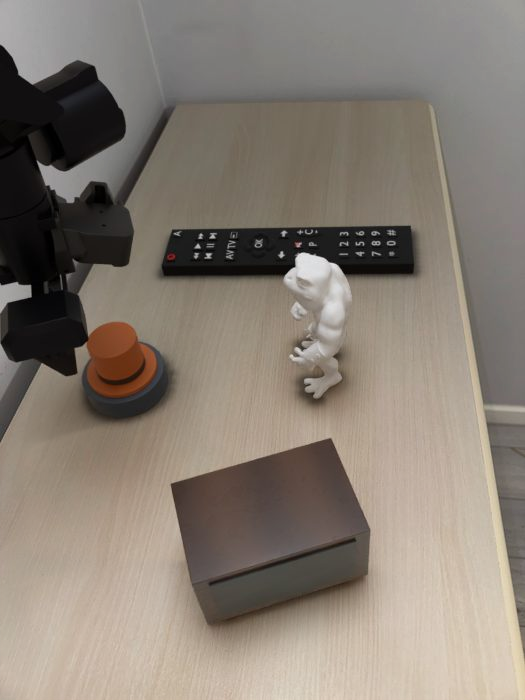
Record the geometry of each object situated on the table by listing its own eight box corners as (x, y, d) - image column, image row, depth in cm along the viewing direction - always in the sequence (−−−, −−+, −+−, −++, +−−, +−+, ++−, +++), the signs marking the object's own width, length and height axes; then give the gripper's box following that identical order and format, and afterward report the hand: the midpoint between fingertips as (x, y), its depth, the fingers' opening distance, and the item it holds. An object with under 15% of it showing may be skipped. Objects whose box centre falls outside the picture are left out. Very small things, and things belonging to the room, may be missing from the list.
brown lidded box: (210, 632, 56) (191, 587, 49) (188, 534, 62) (170, 483, 56) (368, 582, 58) (371, 532, 51) (332, 492, 64) (331, 437, 57)
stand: (92, 427, 72) (85, 412, 70) (84, 367, 78) (78, 352, 76) (174, 404, 73) (170, 390, 71) (160, 347, 79) (156, 332, 77)
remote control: (172, 238, 92) (169, 226, 91) (409, 234, 88) (410, 222, 87) (161, 275, 87) (158, 263, 86) (413, 273, 83) (414, 261, 82)
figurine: (356, 405, 70) (358, 301, 59) (293, 409, 71) (282, 306, 60) (347, 331, 78) (347, 225, 67) (290, 334, 78) (280, 230, 67)
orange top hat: (91, 406, 70) (77, 375, 67) (85, 355, 75) (71, 323, 72) (163, 387, 71) (153, 355, 68) (151, 337, 76) (141, 306, 73)
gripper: (129, 244, 47) (169, 389, 58) (101, 121, 59) (138, 260, 71) (-35, 282, 45) (39, 423, 56) (-28, 147, 58) (31, 285, 69)
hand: (68, 339), depth 63 cm, fingers open, 9 cm apart
